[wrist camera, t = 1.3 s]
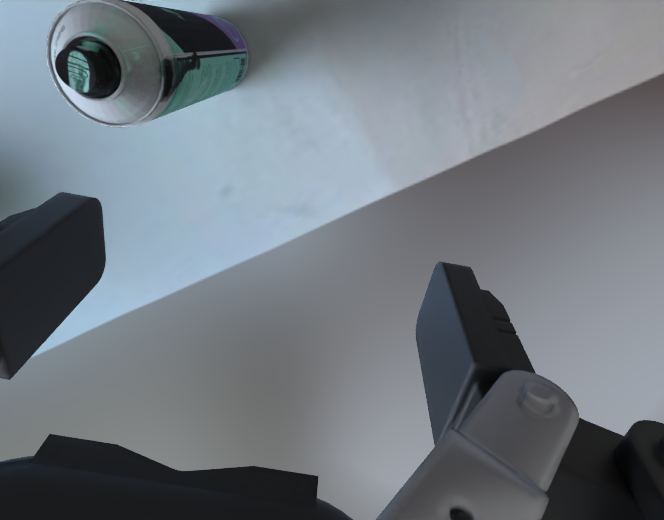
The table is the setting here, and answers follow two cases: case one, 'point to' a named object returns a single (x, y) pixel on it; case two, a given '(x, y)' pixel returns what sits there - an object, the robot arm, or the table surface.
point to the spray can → (140, 59)
